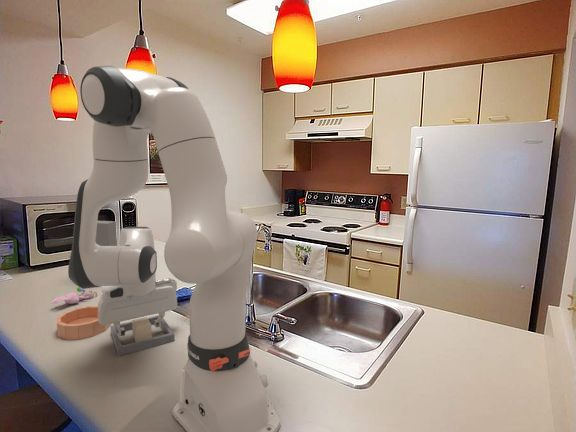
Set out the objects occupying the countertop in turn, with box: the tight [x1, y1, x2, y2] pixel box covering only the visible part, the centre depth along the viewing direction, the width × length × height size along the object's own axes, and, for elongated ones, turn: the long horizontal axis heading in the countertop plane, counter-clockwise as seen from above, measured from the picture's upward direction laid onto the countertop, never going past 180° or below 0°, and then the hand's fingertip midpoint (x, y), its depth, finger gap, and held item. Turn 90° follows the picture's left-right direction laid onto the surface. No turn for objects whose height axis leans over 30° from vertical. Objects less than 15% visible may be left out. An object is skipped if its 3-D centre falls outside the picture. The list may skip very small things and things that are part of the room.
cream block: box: [131, 316, 153, 342], centre depth 93 cm, size 5×4×4 cm
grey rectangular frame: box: [109, 314, 175, 357], centre depth 93 cm, size 14×14×2 cm
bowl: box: [56, 305, 111, 341], centre depth 97 cm, size 13×13×4 cm
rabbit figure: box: [50, 286, 98, 305], centre depth 114 cm, size 6×6×15 cm
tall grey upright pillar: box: [95, 220, 118, 246], centre depth 133 cm, size 14×6×25 cm, turn 84°
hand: (140, 330), depth 93 cm, fingers open, 8 cm apart
